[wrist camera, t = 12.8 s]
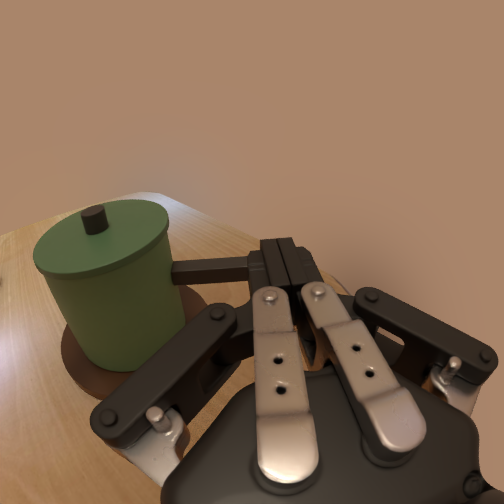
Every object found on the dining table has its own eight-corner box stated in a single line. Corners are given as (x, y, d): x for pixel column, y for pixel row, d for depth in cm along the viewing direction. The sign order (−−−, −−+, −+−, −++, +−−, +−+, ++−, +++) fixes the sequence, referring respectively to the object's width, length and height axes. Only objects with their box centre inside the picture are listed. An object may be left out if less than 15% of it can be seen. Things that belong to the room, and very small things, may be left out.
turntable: (243, 312, 30) (242, 303, 29) (144, 437, 18) (139, 431, 17) (133, 272, 36) (131, 264, 35) (42, 349, 24) (37, 342, 23)
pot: (64, 370, 21) (-1, 257, 14) (97, 290, 31) (65, 192, 24) (317, 364, 22) (342, 229, 16) (290, 279, 32) (295, 169, 25)
